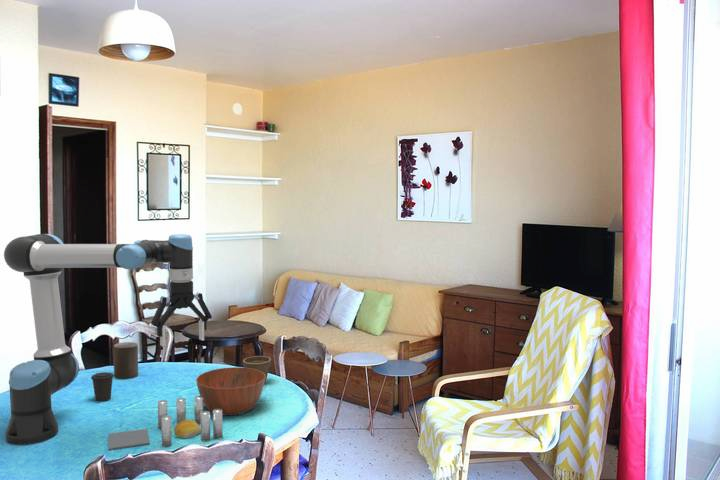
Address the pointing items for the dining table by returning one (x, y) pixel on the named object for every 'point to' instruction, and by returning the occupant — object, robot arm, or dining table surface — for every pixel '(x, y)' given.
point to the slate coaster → (128, 439)
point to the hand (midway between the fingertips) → (182, 342)
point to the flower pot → (258, 364)
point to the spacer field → (200, 418)
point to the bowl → (231, 389)
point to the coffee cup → (102, 386)
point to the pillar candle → (126, 360)
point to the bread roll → (186, 429)
